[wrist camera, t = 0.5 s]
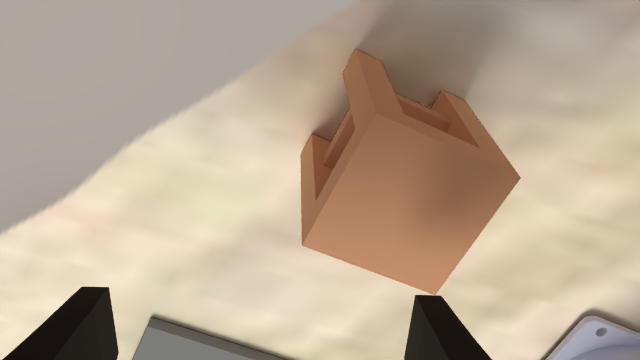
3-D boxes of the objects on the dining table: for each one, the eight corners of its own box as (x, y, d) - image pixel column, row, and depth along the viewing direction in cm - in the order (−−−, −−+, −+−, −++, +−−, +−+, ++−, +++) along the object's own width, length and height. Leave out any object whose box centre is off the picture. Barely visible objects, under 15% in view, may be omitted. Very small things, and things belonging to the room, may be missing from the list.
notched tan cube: (465, 100, 21) (520, 177, 16) (403, 197, 23) (435, 295, 18) (355, 48, 20) (376, 113, 15) (300, 154, 22) (301, 245, 17)
